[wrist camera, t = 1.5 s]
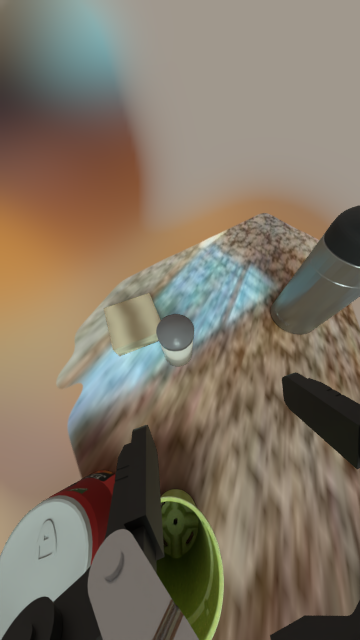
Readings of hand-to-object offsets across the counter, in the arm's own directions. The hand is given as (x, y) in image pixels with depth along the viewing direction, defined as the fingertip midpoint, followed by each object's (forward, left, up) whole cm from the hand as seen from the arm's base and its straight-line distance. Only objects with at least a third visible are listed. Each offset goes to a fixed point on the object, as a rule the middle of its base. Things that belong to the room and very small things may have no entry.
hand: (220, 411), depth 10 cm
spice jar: (-1, -12, -22) cm, 24 cm away
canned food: (+17, +4, -22) cm, 28 cm away
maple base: (+5, -21, -22) cm, 30 cm away
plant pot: (+8, +9, -22) cm, 25 cm away
